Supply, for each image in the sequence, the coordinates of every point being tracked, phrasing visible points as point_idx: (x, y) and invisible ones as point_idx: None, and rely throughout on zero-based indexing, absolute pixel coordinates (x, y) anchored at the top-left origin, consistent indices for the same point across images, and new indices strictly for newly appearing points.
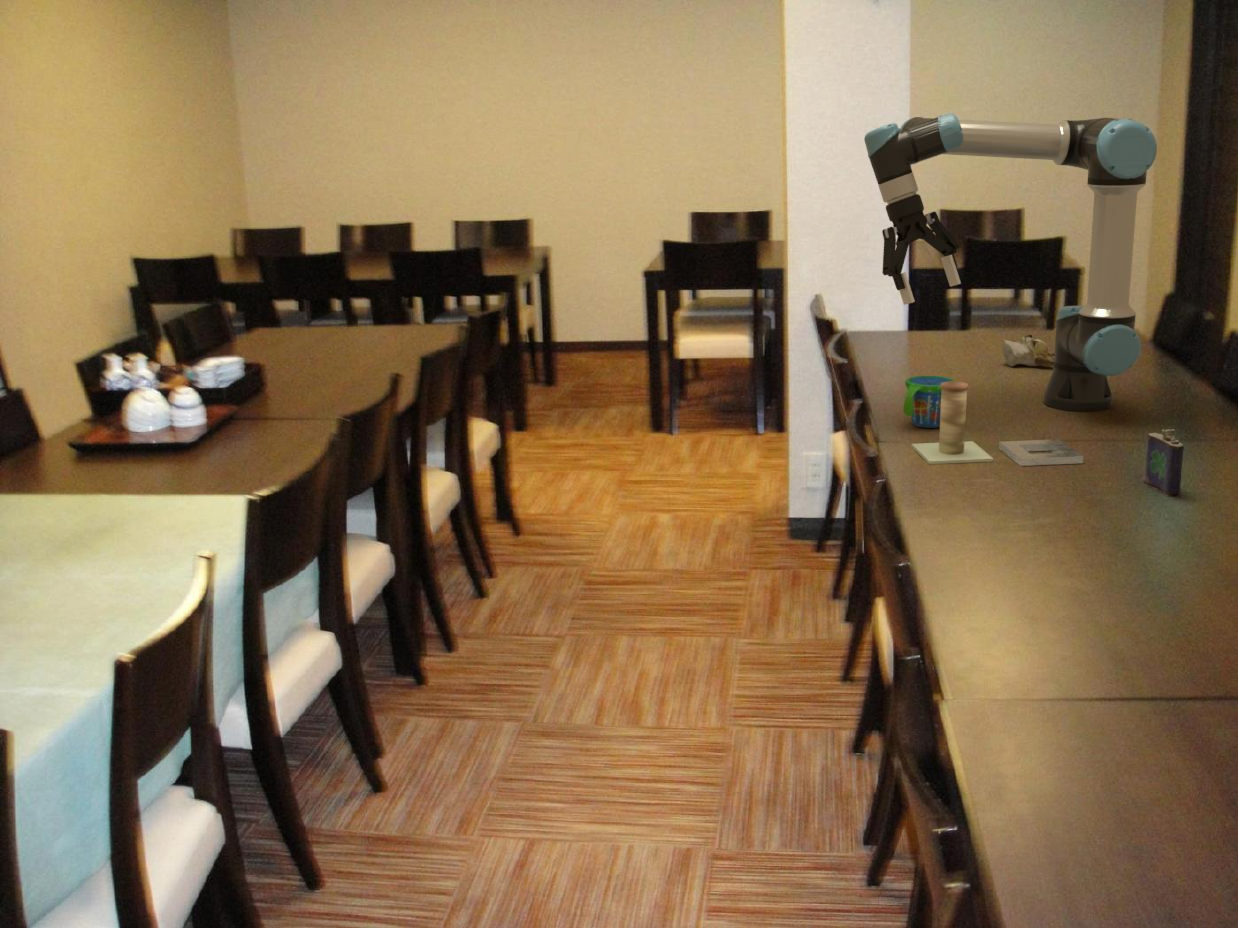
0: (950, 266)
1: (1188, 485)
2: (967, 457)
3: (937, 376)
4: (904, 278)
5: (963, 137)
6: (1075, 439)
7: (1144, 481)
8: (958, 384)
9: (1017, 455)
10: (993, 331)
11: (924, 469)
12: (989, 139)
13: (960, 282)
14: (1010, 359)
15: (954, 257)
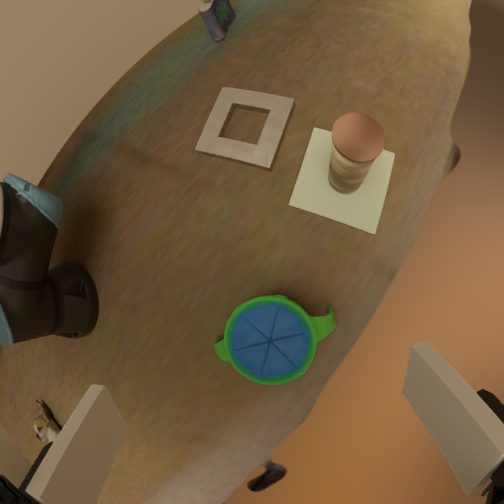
0: (73, 464)
1: (198, 31)
2: None
3: (234, 364)
4: (498, 420)
5: None
6: (162, 171)
7: (224, 36)
8: (352, 131)
9: (289, 109)
10: None
11: (408, 142)
12: None
13: (90, 387)
14: None
15: (26, 477)
